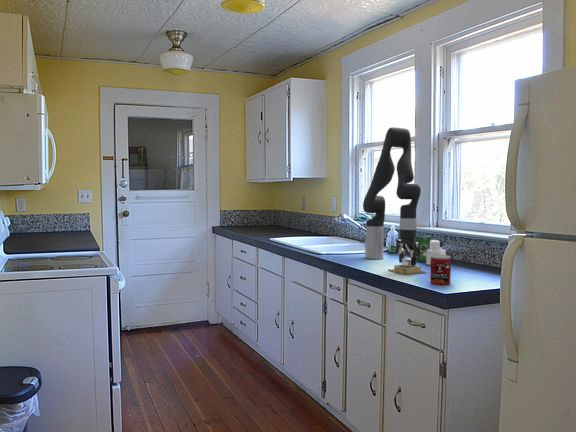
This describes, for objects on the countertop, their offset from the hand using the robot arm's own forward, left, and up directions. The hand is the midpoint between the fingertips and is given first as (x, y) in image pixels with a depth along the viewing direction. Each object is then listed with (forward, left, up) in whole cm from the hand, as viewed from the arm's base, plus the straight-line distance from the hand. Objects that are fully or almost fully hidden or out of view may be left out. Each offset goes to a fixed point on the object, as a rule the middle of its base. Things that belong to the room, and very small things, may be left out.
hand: (407, 264), depth 237 cm
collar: (0, 0, -4) cm, 4 cm away
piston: (0, 0, -3) cm, 3 cm away
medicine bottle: (-13, +27, -4) cm, 30 cm away
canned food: (+28, -5, -4) cm, 29 cm away
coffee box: (-23, +27, -4) cm, 36 cm away
